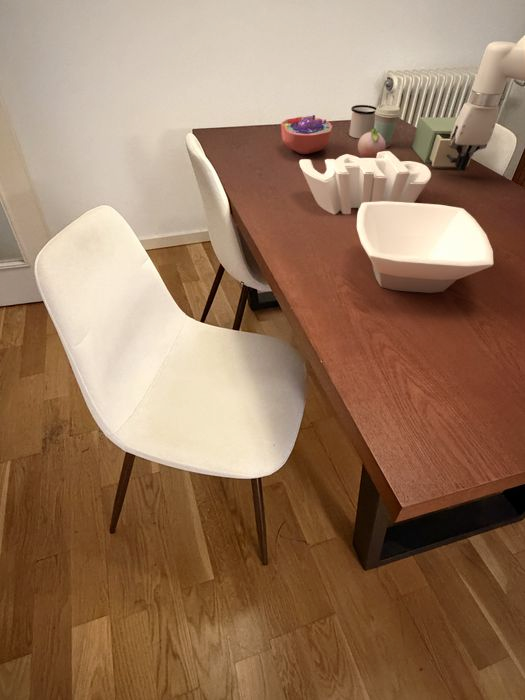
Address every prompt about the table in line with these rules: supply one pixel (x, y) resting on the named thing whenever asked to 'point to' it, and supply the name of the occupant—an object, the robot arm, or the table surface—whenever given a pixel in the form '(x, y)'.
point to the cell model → (305, 134)
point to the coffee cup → (386, 121)
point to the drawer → (443, 152)
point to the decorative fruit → (371, 144)
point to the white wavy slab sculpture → (364, 181)
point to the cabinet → (430, 134)
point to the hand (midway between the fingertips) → (459, 168)
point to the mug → (361, 120)
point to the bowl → (421, 244)
